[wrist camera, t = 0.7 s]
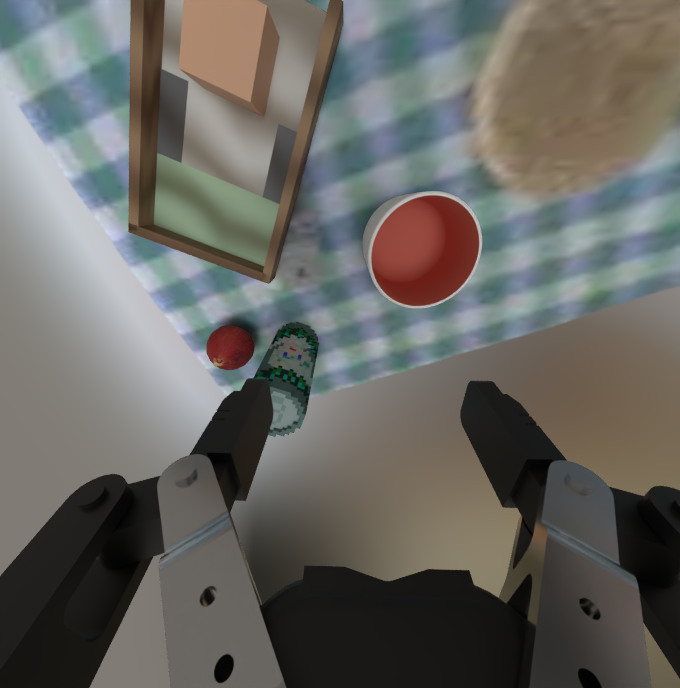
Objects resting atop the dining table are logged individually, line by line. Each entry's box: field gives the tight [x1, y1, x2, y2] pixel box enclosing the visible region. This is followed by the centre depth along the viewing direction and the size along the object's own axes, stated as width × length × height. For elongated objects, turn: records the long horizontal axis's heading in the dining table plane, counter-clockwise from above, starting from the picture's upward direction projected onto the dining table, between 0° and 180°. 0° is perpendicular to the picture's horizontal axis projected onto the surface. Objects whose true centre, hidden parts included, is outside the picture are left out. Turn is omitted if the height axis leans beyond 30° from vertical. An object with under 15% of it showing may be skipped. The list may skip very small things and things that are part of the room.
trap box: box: [129, 0, 343, 284], centre depth 27 cm, size 24×16×3 cm, turn 159°
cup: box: [362, 191, 482, 308], centre depth 28 cm, size 10×10×10 cm
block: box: [179, 0, 280, 117], centre depth 23 cm, size 6×6×4 cm
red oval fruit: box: [206, 325, 255, 370], centre depth 35 cm, size 6×6×8 cm
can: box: [254, 322, 319, 437], centre depth 33 cm, size 6×6×15 cm
